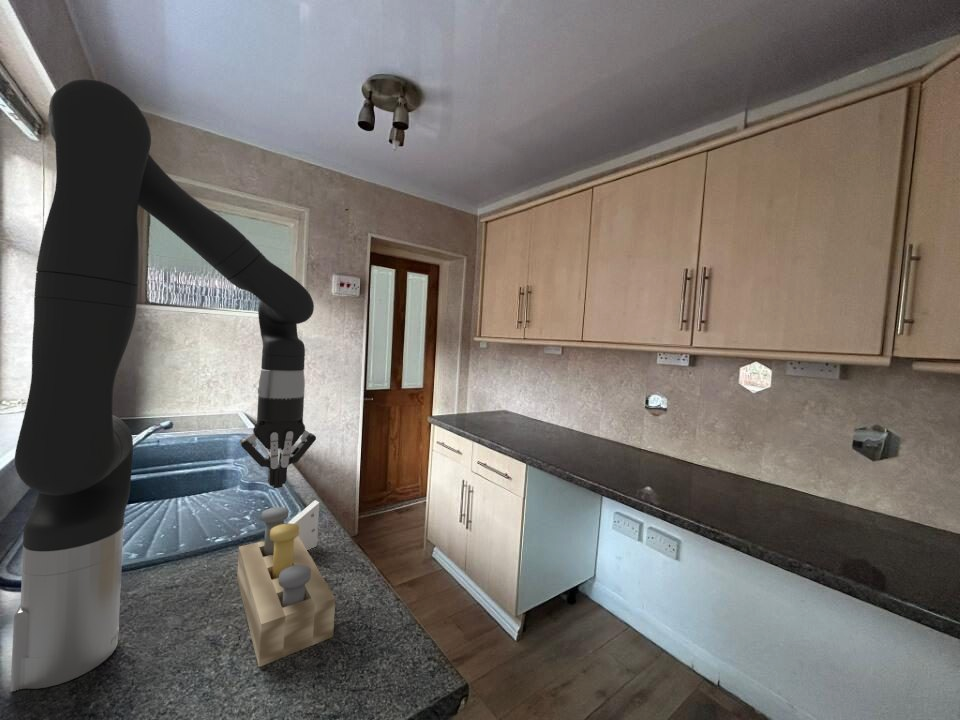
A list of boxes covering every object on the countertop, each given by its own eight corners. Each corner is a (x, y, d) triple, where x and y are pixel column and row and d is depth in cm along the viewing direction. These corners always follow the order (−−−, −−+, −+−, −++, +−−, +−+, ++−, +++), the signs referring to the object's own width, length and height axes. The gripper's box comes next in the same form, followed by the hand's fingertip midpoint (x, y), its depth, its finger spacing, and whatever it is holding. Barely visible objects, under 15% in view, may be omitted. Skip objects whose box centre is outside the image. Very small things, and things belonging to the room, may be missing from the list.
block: (258, 667, 52) (261, 624, 52) (237, 578, 71) (238, 546, 70) (333, 636, 58) (335, 598, 58) (295, 562, 77) (296, 533, 77)
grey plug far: (261, 568, 67) (264, 519, 67) (257, 557, 71) (259, 510, 71) (288, 561, 70) (291, 513, 70) (283, 550, 74) (285, 505, 73)
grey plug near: (278, 646, 55) (282, 585, 55) (272, 627, 58) (276, 570, 58) (310, 633, 58) (314, 575, 58) (303, 616, 61) (306, 561, 61)
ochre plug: (269, 593, 61) (272, 538, 61) (264, 579, 65) (267, 527, 64) (299, 584, 64) (302, 531, 64) (292, 571, 67) (295, 521, 67)
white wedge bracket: (335, 530, 86) (319, 502, 83) (296, 566, 80) (276, 538, 76) (327, 524, 89) (311, 497, 85) (288, 559, 82) (269, 532, 79)
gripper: (242, 397, 63) (237, 500, 63) (325, 395, 71) (320, 487, 71) (237, 392, 69) (232, 486, 69) (313, 390, 77) (309, 475, 77)
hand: (277, 486), depth 70 cm, fingers closed
